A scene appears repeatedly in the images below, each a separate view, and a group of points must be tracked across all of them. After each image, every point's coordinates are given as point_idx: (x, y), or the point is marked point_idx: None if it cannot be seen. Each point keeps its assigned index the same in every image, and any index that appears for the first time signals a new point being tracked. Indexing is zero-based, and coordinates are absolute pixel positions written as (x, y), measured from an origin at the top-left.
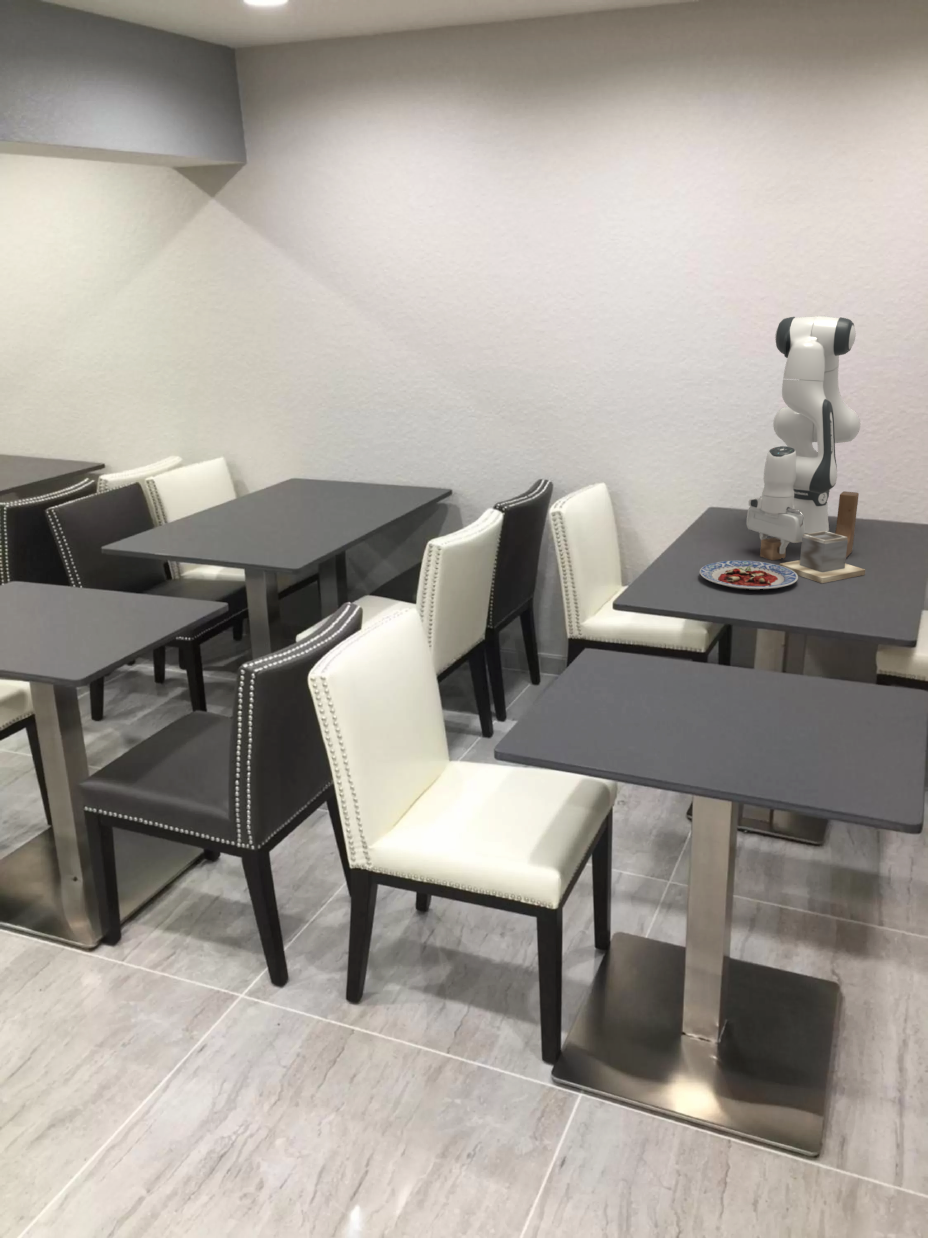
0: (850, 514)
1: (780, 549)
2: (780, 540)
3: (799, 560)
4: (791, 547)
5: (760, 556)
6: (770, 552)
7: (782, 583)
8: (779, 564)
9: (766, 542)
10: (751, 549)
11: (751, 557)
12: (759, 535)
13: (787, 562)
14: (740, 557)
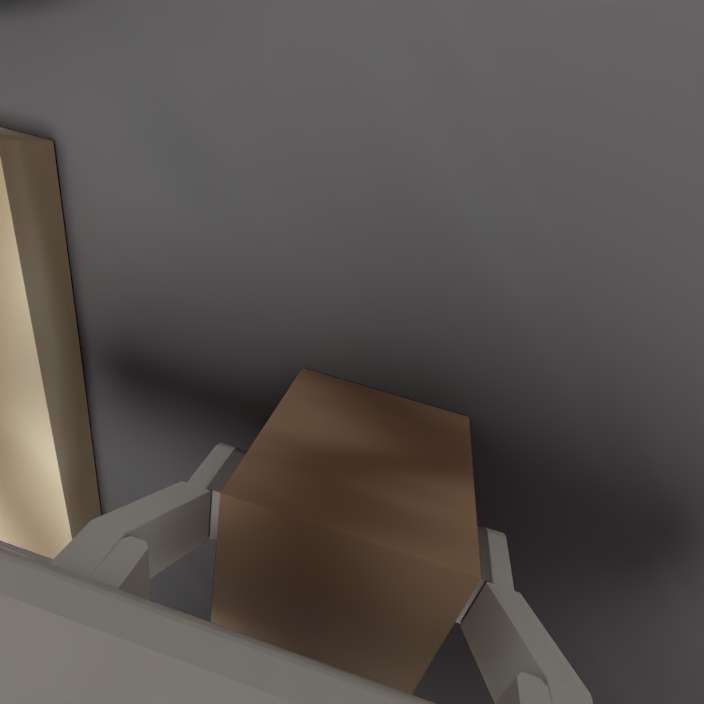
0: None
1: (200, 471)
2: (277, 639)
3: (36, 393)
4: (416, 693)
5: (460, 414)
6: (310, 419)
7: None
8: (3, 139)
9: (368, 527)
10: (659, 564)
11: (522, 330)
12: (588, 702)
13: (12, 257)
14: (647, 238)
